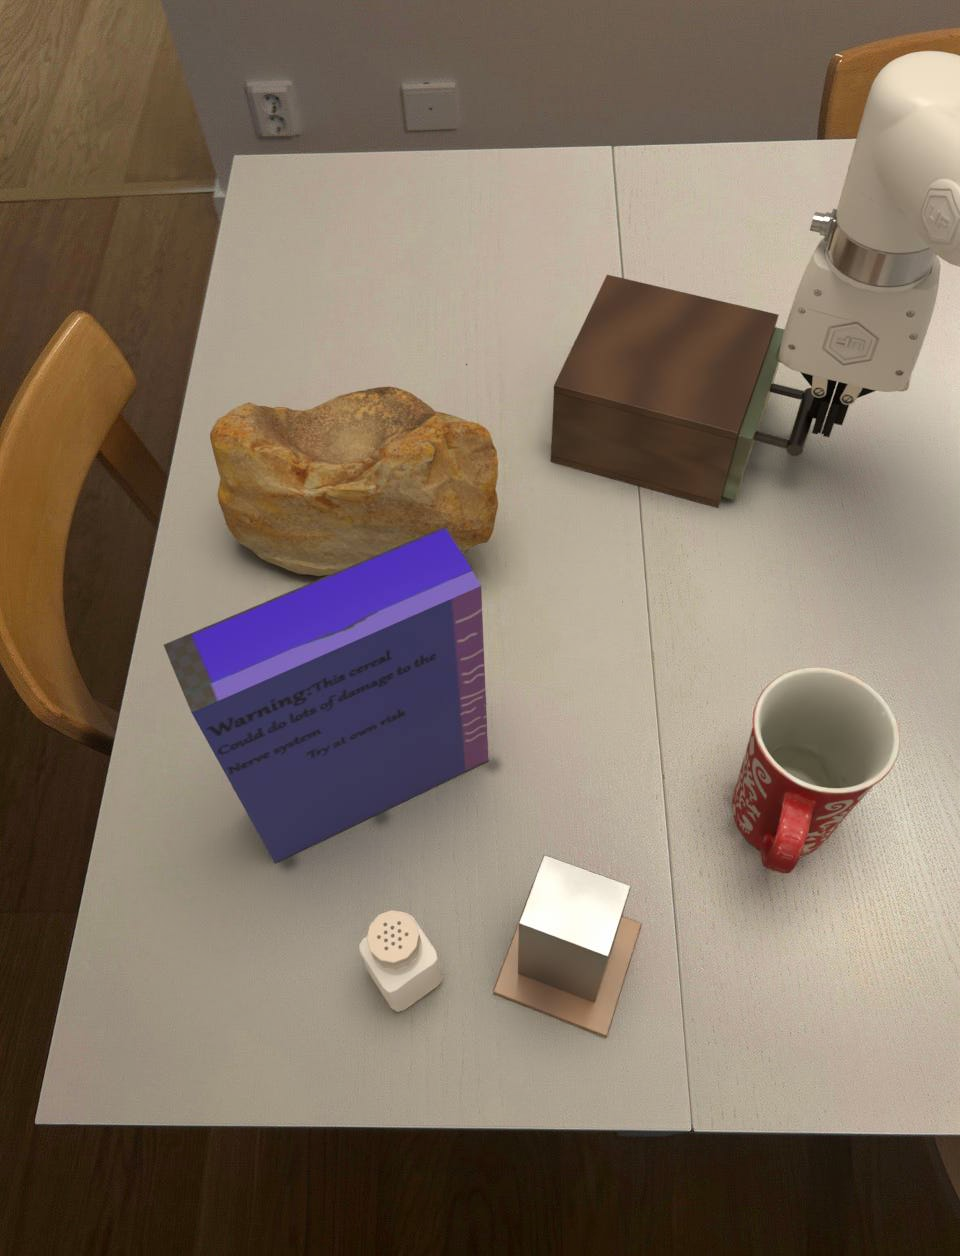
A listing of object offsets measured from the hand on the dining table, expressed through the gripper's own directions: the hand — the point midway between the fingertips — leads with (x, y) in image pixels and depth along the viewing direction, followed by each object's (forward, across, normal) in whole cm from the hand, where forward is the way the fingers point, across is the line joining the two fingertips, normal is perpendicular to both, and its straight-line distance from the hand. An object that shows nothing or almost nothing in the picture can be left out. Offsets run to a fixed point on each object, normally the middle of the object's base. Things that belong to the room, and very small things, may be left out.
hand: (823, 423), depth 91 cm
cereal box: (+6, -23, -43) cm, 49 cm away
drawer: (+4, -10, -1) cm, 11 cm away
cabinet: (+5, -14, -1) cm, 15 cm away
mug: (+6, +5, -35) cm, 36 cm away
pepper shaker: (+6, -15, -55) cm, 57 cm away
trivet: (+6, -5, -49) cm, 50 cm away
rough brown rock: (+5, -34, -19) cm, 39 cm away
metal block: (+5, -5, -49) cm, 50 cm away
